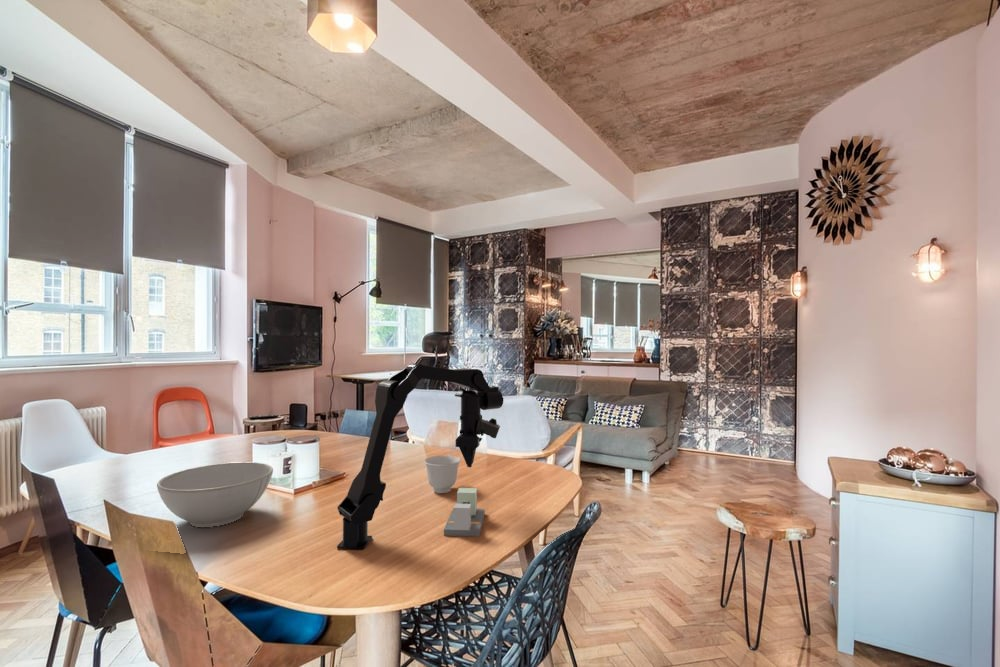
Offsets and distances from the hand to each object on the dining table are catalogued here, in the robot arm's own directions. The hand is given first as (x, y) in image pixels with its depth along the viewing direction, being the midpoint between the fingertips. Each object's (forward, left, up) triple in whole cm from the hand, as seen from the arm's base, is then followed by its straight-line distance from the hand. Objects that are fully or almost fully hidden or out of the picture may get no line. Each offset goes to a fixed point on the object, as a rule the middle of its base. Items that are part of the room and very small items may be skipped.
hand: (470, 465), depth 130 cm
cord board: (-10, 0, -13) cm, 16 cm away
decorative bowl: (-11, +68, -13) cm, 70 cm away
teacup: (+18, +11, -13) cm, 25 cm away
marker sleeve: (-7, 0, -11) cm, 13 cm away
